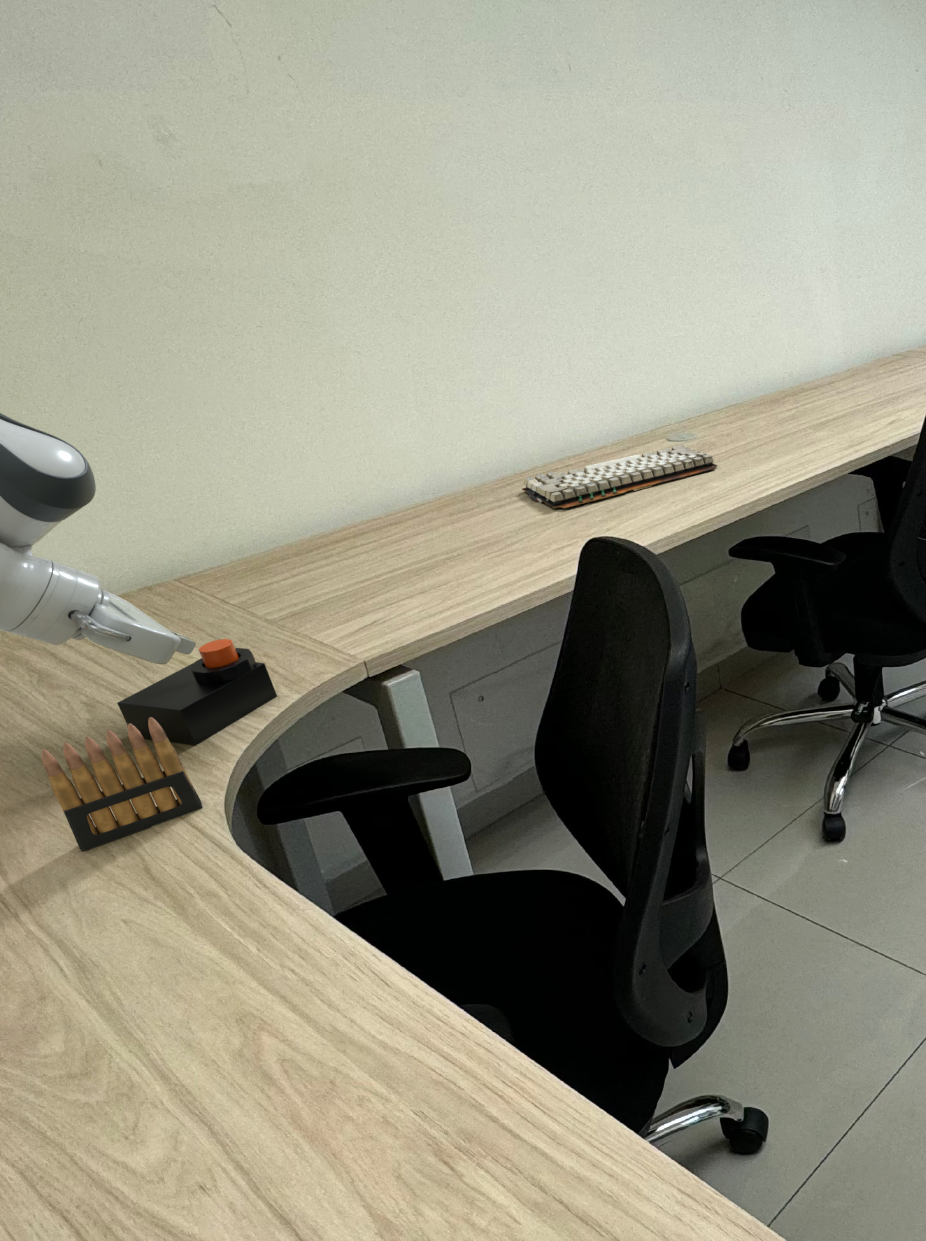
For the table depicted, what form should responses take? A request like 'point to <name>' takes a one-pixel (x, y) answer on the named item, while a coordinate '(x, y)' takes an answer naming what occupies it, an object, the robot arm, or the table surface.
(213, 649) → the orange push button
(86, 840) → the ammunition clip
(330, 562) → the table surface
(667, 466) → the mechanical keyboard
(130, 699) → the push button box
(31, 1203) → the table surface
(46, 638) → the robot arm
